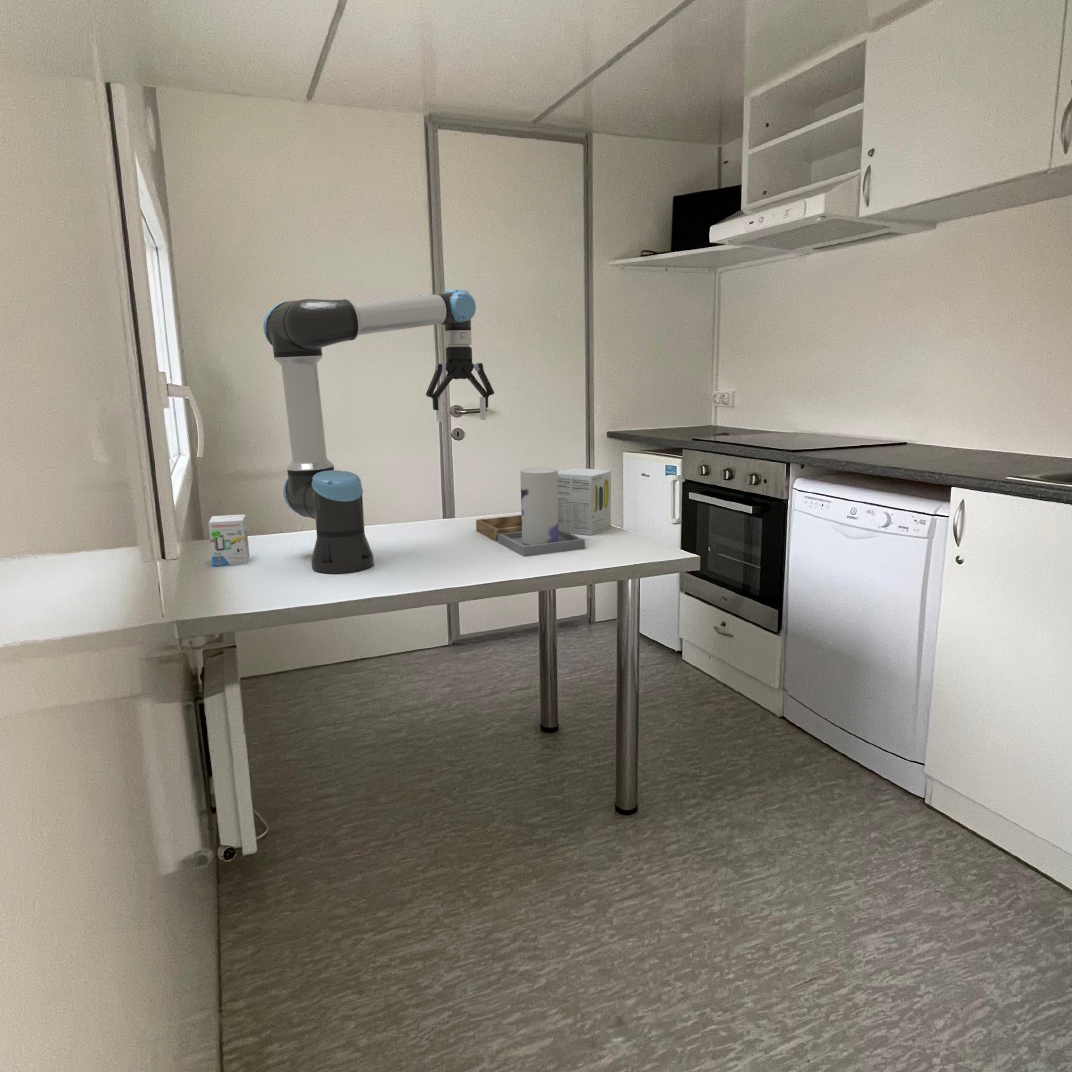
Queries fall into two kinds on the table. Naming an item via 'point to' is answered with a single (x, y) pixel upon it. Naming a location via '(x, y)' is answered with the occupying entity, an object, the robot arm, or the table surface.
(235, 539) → the ink box
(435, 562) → the table surface
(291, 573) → the table surface
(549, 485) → the container
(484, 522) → the frame
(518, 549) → the tray
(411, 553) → the table surface
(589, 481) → the supplement box
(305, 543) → the table surface
